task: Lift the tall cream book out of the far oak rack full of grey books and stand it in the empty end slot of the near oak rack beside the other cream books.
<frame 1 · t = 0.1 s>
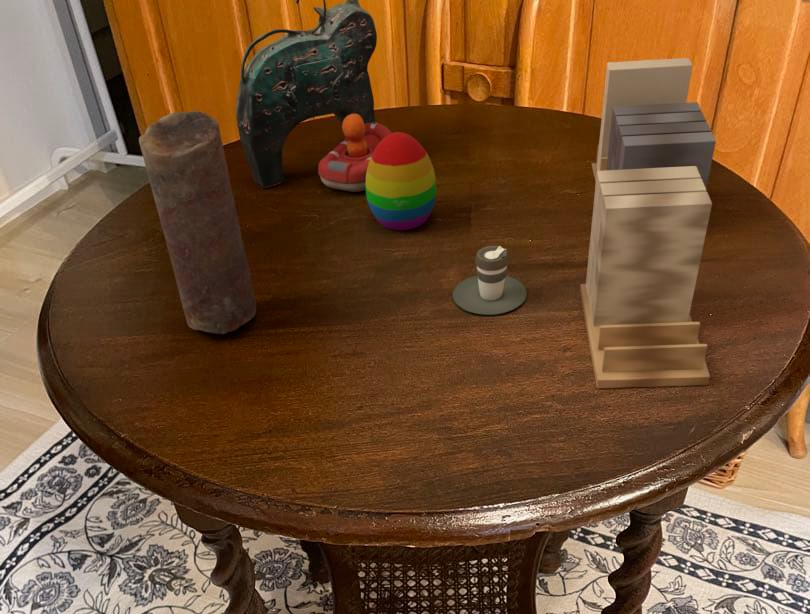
ceramic cat: (320, 165, 114), on the table
cream book: (635, 170, 104), point 1 cm above the table, touching grey rack
brown textured cylinder: (225, 323, 90), on the table
decorative egg: (403, 221, 102), on the table
toy boat: (360, 176, 111), on the table
cream rack: (639, 335, 84), on the table
coffee cup: (492, 297, 90), on the table
grey rack: (642, 204, 101), on the table
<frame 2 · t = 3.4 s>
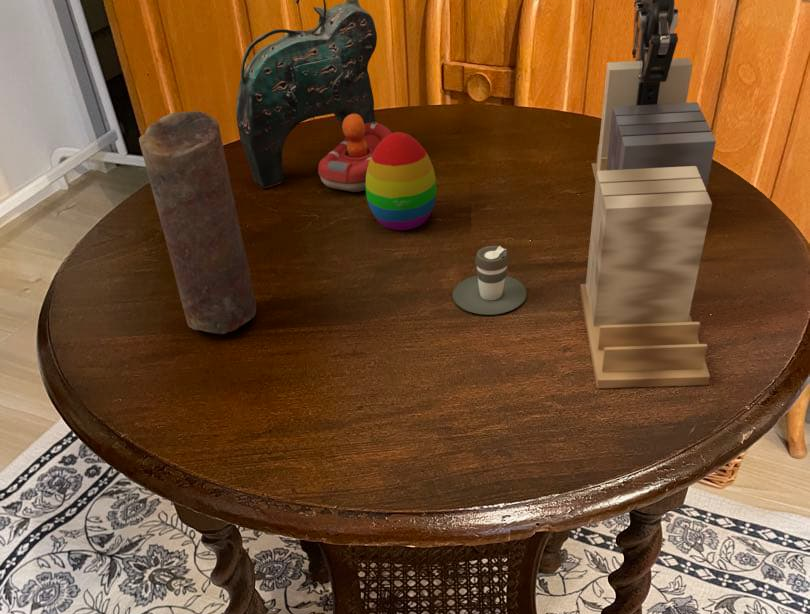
hand: (643, 109, 99), 8 cm above the table, tool pointing down, fingers closed on cream book, 2 cm apart
ceramic cat: (320, 165, 114), on the table, touching toy boat
cream book: (635, 170, 104), point 1 cm above the table, touching grey rack, gripper
toy boat: (360, 176, 111), on the table, touching ceramic cat
everything else where it was.
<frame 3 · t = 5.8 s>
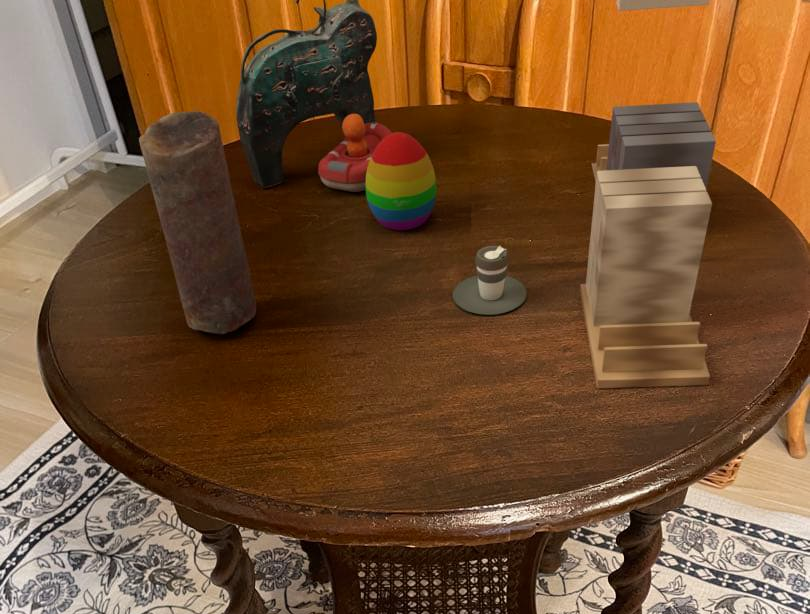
ceramic cat: (320, 165, 114), on the table
cream book: (661, 4, 88), point 20 cm above the table, touching gripper
toy boat: (360, 176, 111), on the table
everything else where it was.
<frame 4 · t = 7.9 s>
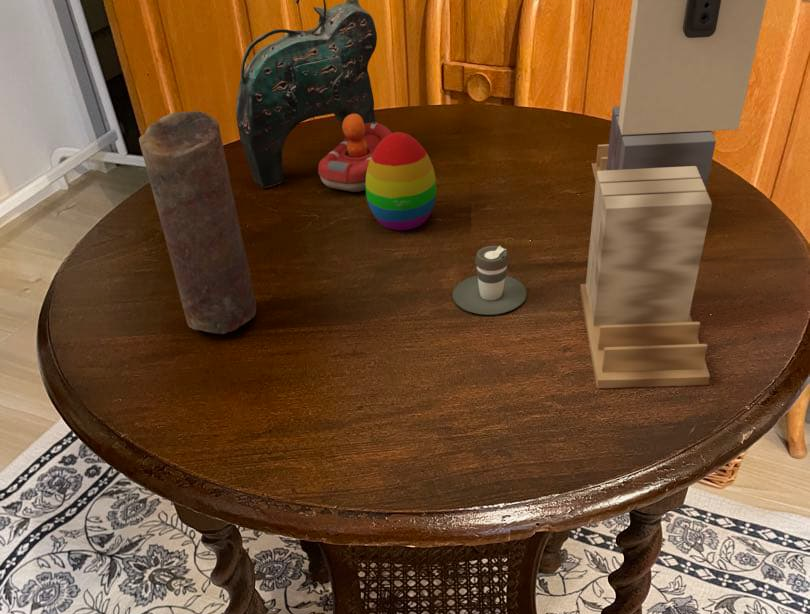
hand: (694, 27, 63), 27 cm above the table, tool pointing down, fingers closed on cream book
cream book: (677, 126, 68), point 20 cm above the table, touching gripper
everything else where it was.
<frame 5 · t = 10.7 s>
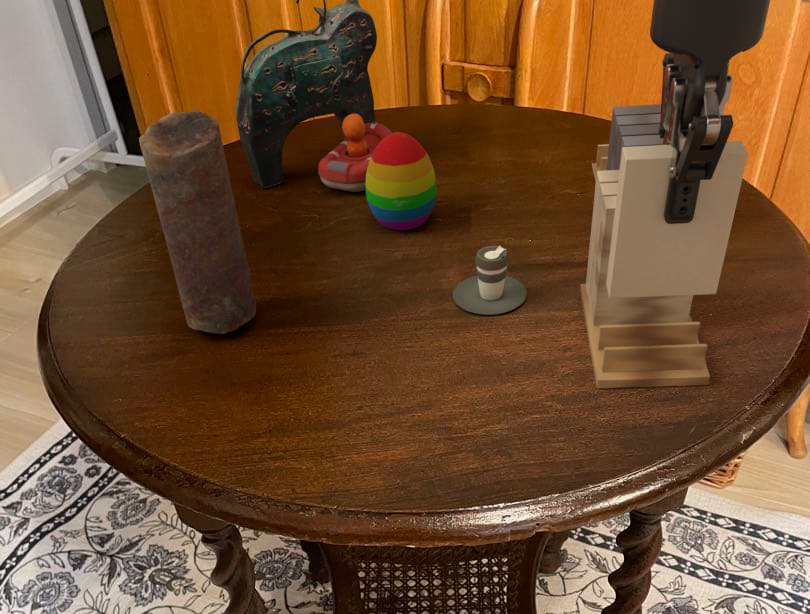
hand: (674, 211, 69), 15 cm above the table, tool pointing down, fingers closed on cream book
cream book: (660, 289, 74), point 8 cm above the table, touching gripper
everything else where it was.
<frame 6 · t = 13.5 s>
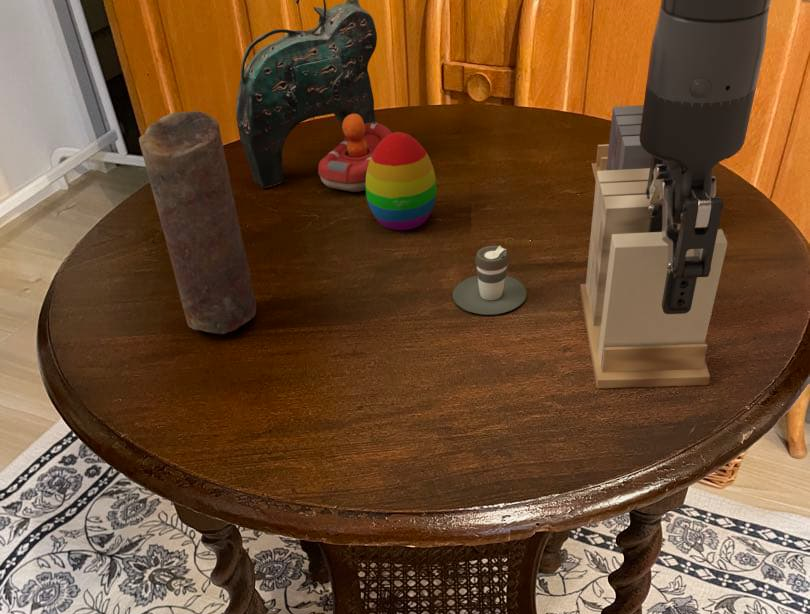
hand: (666, 284, 73), 9 cm above the table, tool pointing down, fingers open, 8 cm apart
cream book: (648, 358, 80), point 1 cm above the table, touching cream rack
everything else where it was.
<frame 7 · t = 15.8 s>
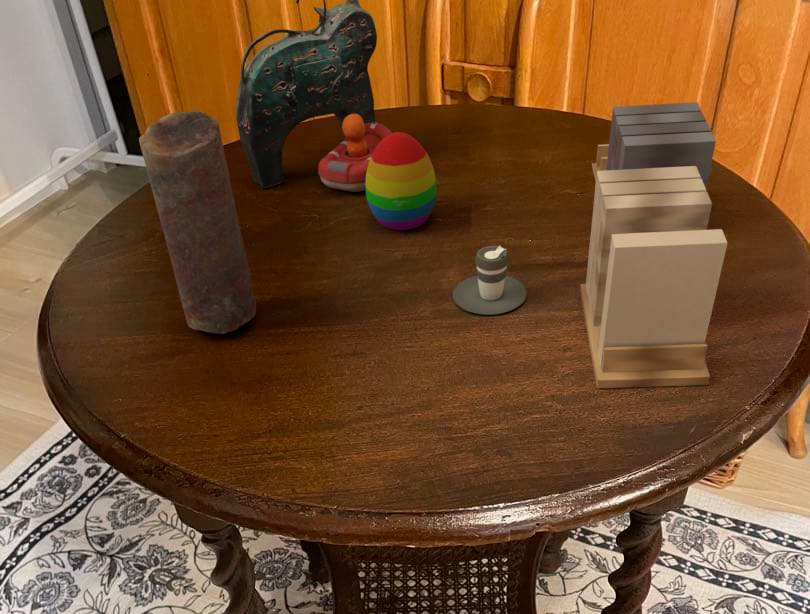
nothing on the table moved.
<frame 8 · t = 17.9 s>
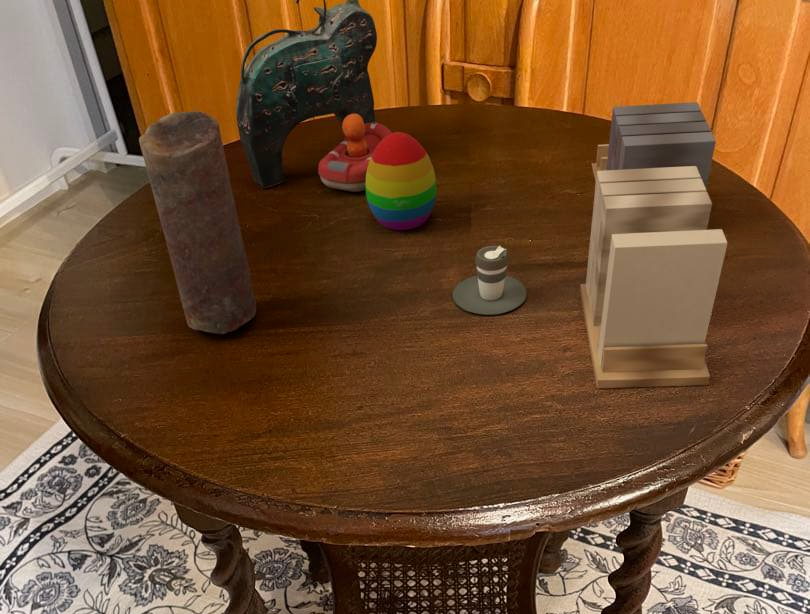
ceramic cat: (320, 165, 114), on the table, touching toy boat
toy boat: (360, 176, 111), on the table, touching ceramic cat
everything else where it was.
at the end: cream book 0.1 cm from the target spot on the cream rack, point 1.0 cm above the cream rack's base; cream book tilted 0°; the gripper is holding nothing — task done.
